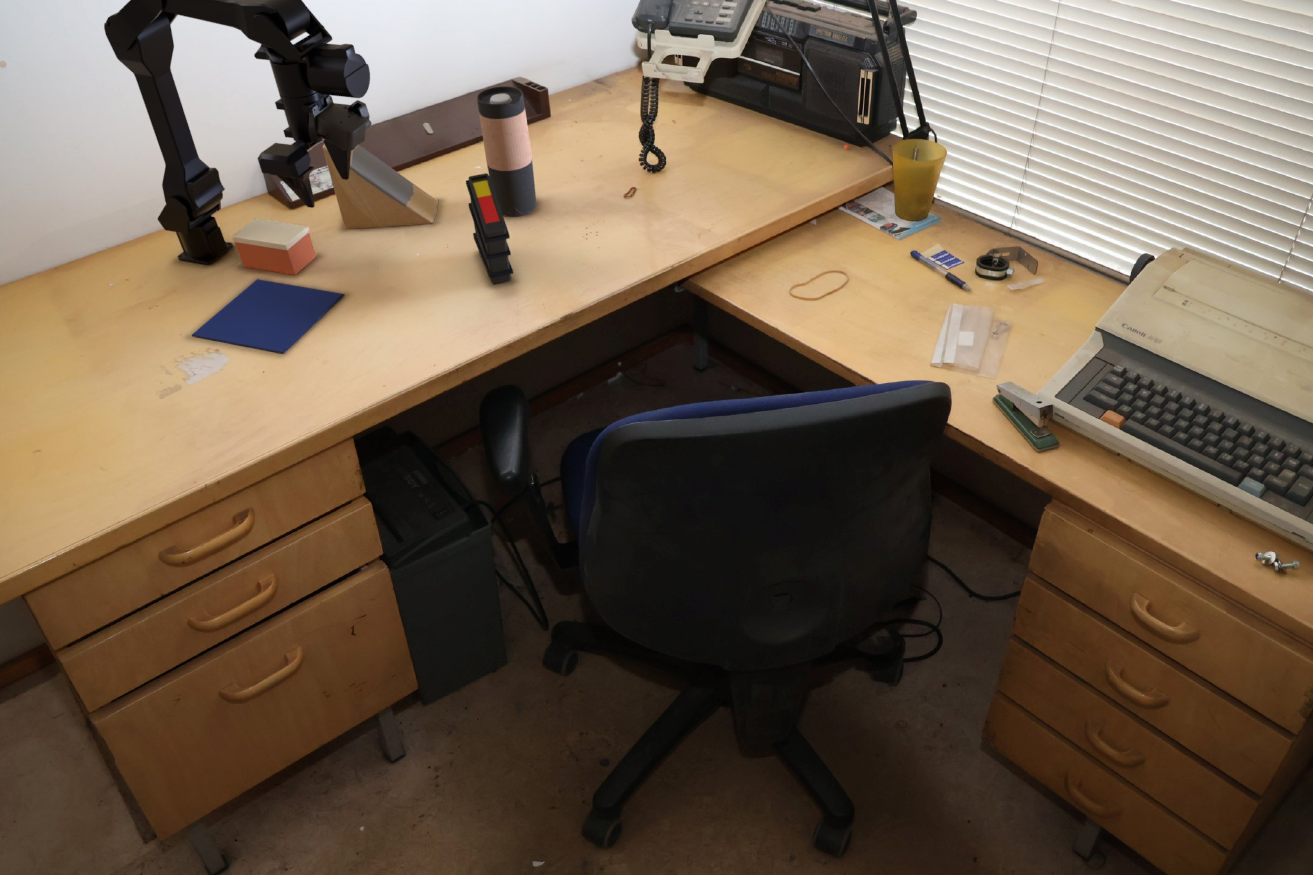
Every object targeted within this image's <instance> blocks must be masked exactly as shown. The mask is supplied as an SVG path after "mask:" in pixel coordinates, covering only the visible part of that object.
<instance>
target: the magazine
mask: <svg viewBox="0 0 1313 875" xmlns="http://www.w3.org/2000/svg"><path fill="white" fill-rule="evenodd" d="M465 185H466V188H467V192H468V194H469V195H468V196H469V197H470V198H469V199H470V202H468V210H469V212H470V215H471V218H472V221H473V226H474V227H473V228H474V232H472V236H473V240H474V243H475V245H476V247H477V250H478V253H479V256H480V258H481V261H482V263H483V265H484V268H485V270H486V272H487V276H488V278H489V279H490V281H491V283H492V285H498V284H503V283H508V282H511V281H512V274H514V269H513V267H512V265H511V262H510V259H509V256H511V255H512V252H511V249H510V246H509V244H508V240H509V239H510V238H511V237H510V233H509V230H508V226H507V224H506V221H505V216H503V214H502V211H501V208H500V205H499V202H498V199H497V196H496V193H495V190H494V187H493V184H492V181H491V178H490V176H489V173H485V172H484V173H480V174H475V175H470V176H468V179H467V180H465Z"/></svg>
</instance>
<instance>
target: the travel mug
mask: <svg viewBox="0 0 1313 875" xmlns="http://www.w3.org/2000/svg"><path fill="white" fill-rule="evenodd" d="M476 100H477V102H476V103H477V108H478V115H479V120H480V121H479V123H480V128H481V134H482V141H483V142H482V143H483V147H484V155H485V161H486V167H487V172H488V175H489V176H490V178H491V181H492V184H493V187H494V190H495V193H496V196H497V199H498V202H499V205H500V208H501V211H502V214H503V217H509V218H517V217H523V216H526V215H529V214H531V213H532V212H534V211H535V210H536V208H537V194H536V184H535V175H534V164H533V155H532V148H531V140H530V134H529V128H528V127H529V126H528V121H527V120H528V119H527V113H526V112H527V111H526V105H525V98H524V92H523V91H522V90H521V89H520V88H517V87H515V86H507V85H506V86H503V85H502V86H501V85H500V86H495V87H494V86H493V87H489V88H487V89H484V90H481V92H479V93H478V94H477V97H476Z"/></svg>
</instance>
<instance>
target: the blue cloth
mask: <svg viewBox="0 0 1313 875" xmlns="http://www.w3.org/2000/svg"><path fill="white" fill-rule="evenodd" d="M344 296H345V295H344V293H341V292H336V291H330V290H323V289H317V288H312V287H308V286H299V285H295V284H288V283H283V282H277V281H271V280H266V279H259V278H256V279H255V280H254V281H253V282H252V283H251V284H250V285H248V286H247V287H246V288H245V289H244V290H242V291H241V292H240V293H239V294H238V295H237V296H236V297H234V298H233V299H231V301H230V302H228V303H227V304H226V305H225V306H223V308H221V309H220V310H219V311H218V312H217V313H215V314H214V315H213V316H212V317H211V318H209V319H208V320H207V321H206V322H205V323H203V324H202V326H200V327H199V328H198V329H196V330H195V331H193V333H192V334H191V337H192V338H193V337H194V338H199V339H204V340H209V341H214V342H220V343H225V344H230V345H235V346H240V347H245V348H249V349H256V350H260V351H261V350H262V351H266V352H271V353H278V354H281V355H283V354H284V353H285V352H287V351H288V350H289V349H290V348H291V347H292V346H293V345H294V344H295V343H296V342H297V341H298V340H299V339H300V338H301V337H302V336H303V335H304V334H306V332H307V331H308V330H309V329H311V328H312V327H313V326H314V325H315V324H316V323H317V322H318V321H319V320H320V319H321V318H322V317H323V316H324V315H325V314H326V313H327V312H328V311H329V310H330V309H331V308H332V307H333V306H334V305H335V304H336V303H337V302H339V301H340V299H342V298H343V297H344Z"/></svg>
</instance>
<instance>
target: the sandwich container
mask: <svg viewBox="0 0 1313 875" xmlns="http://www.w3.org/2000/svg"><path fill="white" fill-rule="evenodd" d="M322 151H323V155H324V159H325V162H326V165H327V166H326V167H327V169H328V173H329V176H330V180H331V183H332V186H333V191H334V194H335V198H336V201H337V205H338V209H339V212H340V215H341V219H342V222H343V226H344V229H346V230H347V229H349V230H351V229H369V228H387V227H401V226H402V227H403V226H413V225H414V226H415V225H427V224H428V225H429V224H434V221H435V218H436V215H437V212H438V206H439V200H438V199H436V198H435V197H434V196H432V195H430V194H429V193H428V192H426V191H425V190H424V189H422V188H420V187H419V186H418V185H416V184H415V183H413V182H412V181H410V180H409V179H408V178H406V177H405V176H403V175H402V174H400V173H399V172H398V171H397V170H395V169H393V168H392V167H390V165H388V164H387V163H385V162H383V161H382V160H381V159H380V158H378V157H376V155H373V154H372V153H371V152H370V151H368V150H367V149H365V148H364V147H363V146H362V145H360V144H359V145H357V146H356V147H355V149H354V150H352V151H351V159H350V173H349V179H348V180H344V179H342V178H341V176H340V175H339V173H338V171H337V169H336V167H335V165H334V163H333V161H332V159H331V157H330V155H329V152H328V150H327V148H326V146H325V144H324V143H323V145H322Z"/></svg>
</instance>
